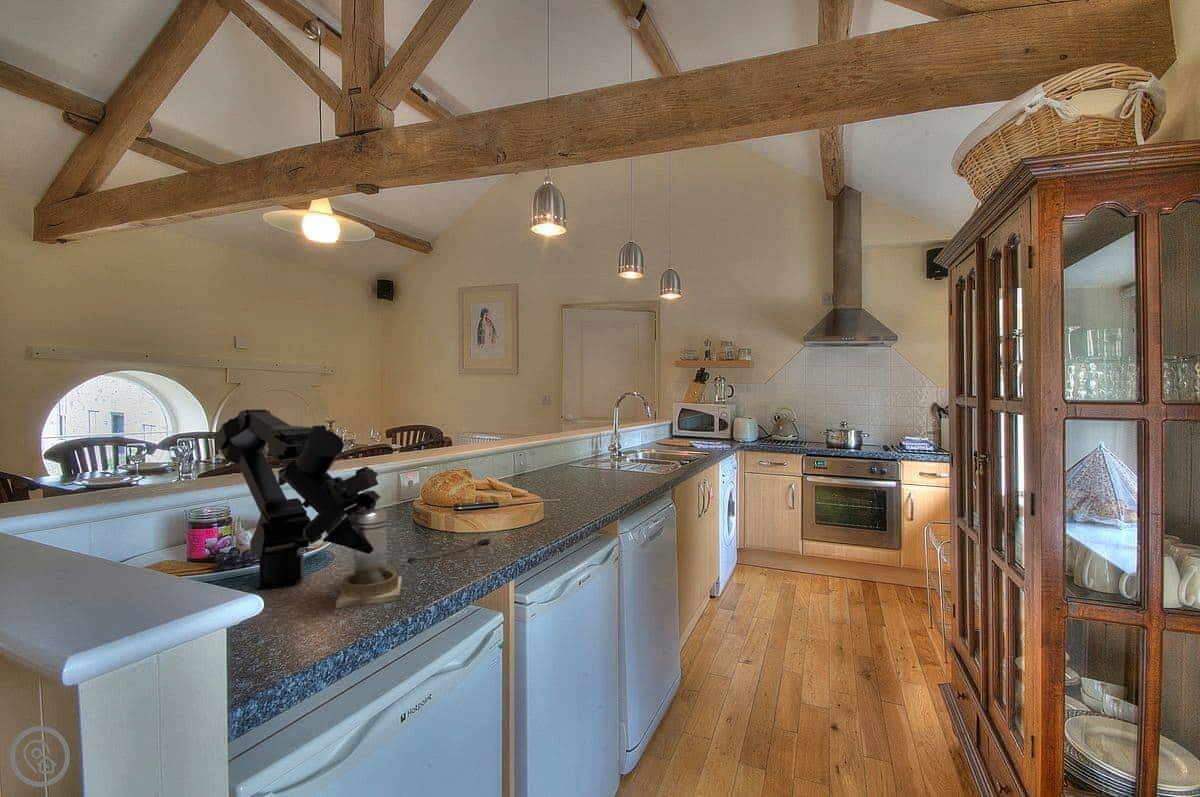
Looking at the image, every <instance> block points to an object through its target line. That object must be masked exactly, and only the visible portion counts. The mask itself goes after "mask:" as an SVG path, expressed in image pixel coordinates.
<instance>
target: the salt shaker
mask: <svg viewBox="0 0 1200 797" xmlns="http://www.w3.org/2000/svg"><path fill="white" fill-rule="evenodd" d="M387 513H388V510H386V509H385V508H375V509H366V510H360V511H357V512H355V525H356V527H357V528H358V529H359V530H360V532H361V533H362V534H363V535H364V537H365V538H366V539H367V540H368V542H369V543H370V544H371V546H372V547H373V549H374V550H373V551H372V552H371V553H370V554H367V553H364V552H361V551H358V550H355V549H353V573H354V584H358V585H366V584H375V583H379V582H382V581H386V569H387V554H388V553H387V548H388V547H387V539H388V538H387V534H388V533H387V528H388V527H387V524H388V523H387V522H388V521H387V519H388V517H387V516H388V514H387Z"/></svg>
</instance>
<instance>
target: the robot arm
mask: <svg viewBox="0 0 1200 797" xmlns="http://www.w3.org/2000/svg"><path fill="white" fill-rule="evenodd" d="M215 444H216V448H217V449H218V450H219V451H220V452H221V454H222V456H223V457H224V459H225V460H227V461H229V462H230V463H234V464H235V465H237V466H238V467H239V469H240V472H241V474H242V476H243V479H244V480H245V482H246V485H247V487H248V490H249V491H250V493H251V495H252V498H253V499H254V503H255V504H256V506H257V509H258V511H259V513H260V516H259V519H258V522H257V523H256V527H255V531H254V533H253V535H252V536H251V539H250V542H249V549H250V553H251V554H252V555H253V556H256V557H259V566H258V568H259V569H258V570H259V574H258V575H259V577H258V578H259V583H258V584H257V585H256V590H264V589H274V588H282V587H283V588H284V587H292V586H296V585H297V584H298V583H299V581H300V580H301V579H302V578H303V576H304V574H305V573H304V572H305V571H304V569H305V568H304V566H305V564H304V562H305V560H304V559H305V558H304V554H303V553H302V554H301V549H303V548H304V549H305V548H309V544H310V545H314V544H315V543H317V542H319V541H320V540H321V539H322V542H324V543H327V542H328V543H332V544H335V545H338V546H341V547H342V546H343V547H345V548H349V549H352V550H354V549H355V550H358V551H361V552H364V553H367V554H370V553H371V552H372V551H373V550H374V549H373V547H372V546H371V544H370V543H369V542H368V540H367V539H366V538H365V537H364V535H363V534H362V533H361V532H360V530H359V529H358V528H357V527H356V525H355V512H357V511H360V510H366V509H376V506H377V503H376V502H378V500H380V498H381V496H380V495H379V494H378V493H377V492H376V491H375V490H369V489H371V488H372V487H375V486H378V485H379V482H378V479H377V477H378V472H376V471H374V469H373V468H370V467H368V466H363V467H361V468H359V469H356V471H355V475H353V476H350V477H348V478H346V479H343V478H342V477H338V476H337V477H332V476H331V475H330V474H329V473H328V471H329V470H330V469H331V467H332V466H333V464H334V463H335V462H336V460H337V458H339V456H340V455H341V454H342V452H343V449H344V441H343V439H342V438H340V436H339V435H338V434H336V433H335V432H332V431H331V430H328V429H327V428H326V425H325V424H324V425H313V426H312V427H309V426H302V425H301V426H298V425H290V424H289V423H287V422H285V421H284V420H281V419H280V418H278V417H277V416H275V415H274V414H272V413H271V411H270V410H267V409H243V410H241V411H239V413H238V414H237V416H235V417H234V418H232V419H230V420H228V421H226V422H224V423H223V424H222V425H221V426H220V428H219V430H218V431H217V434H216V436H215ZM266 446H267V453H269V454H270V455H271V457H272V458H273V459H274V460H275V461H279V462H280V461H281V462H282V461H289V462H288V464H286V466H284V467H283V468H281V469H279V470H278V471H277V472H278V479H277V477H276V475H275V473H274V471H273V469H272V467H271V465H270V463H269V461H268V459H267V457H266V456H265V454H264V452H265V450H266V449H265V448H266ZM286 484H288V485H289V486H290V487H291V488H292V489H293V490H294V491H295V492H296V493H297V494H298V495H299V496H300V497H301V498H302V499H303V500H304V501H303V502H302V501H301V499H299V498H298V497H296V498H289V499H287V497H286V495H285V492H284V491H283V489H282V487H281V486H284V485H286ZM310 507H311V508H312V509H313V510H314V511H315V512H316V513H317V515H316V516H314V518H313V519H311V518H310V516H308V514H307V513H308V511H307V510H306V509H307V508H310ZM324 533H326V534H327V535H326V536H324V538H322V535H323V534H324Z"/></svg>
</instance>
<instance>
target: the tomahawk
mask: <svg viewBox="0 0 1200 797" xmlns="http://www.w3.org/2000/svg"><path fill="white" fill-rule="evenodd" d="M490 542H491V539H490V538H484V539H480V540H478V542H476V543H475V544H470V545H469V544H468V545H463V546H461V547H457V548H454V549H450V550H446V551H442V552H438V553H434V554H431V555H428V556H423V557H422V558H421V559H420V560H423V559H430V558H434V557H438V556H442V557H444V556H443V555H446V556H448V555H447V554H450V555H453V554H456V552H457V553H460V552H463V551H464V552H465V551H468V550H471V549H476V548H479V547H482V546H483V545H484V544H489V543H490ZM452 553H453V554H452ZM438 558H439V557H438ZM434 559H435V558H434ZM414 560H418V559H417V558H415V557H409V558H407V563H410V562H413V561H414ZM414 562H415V561H414Z"/></svg>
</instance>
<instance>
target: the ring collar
mask: <svg viewBox="0 0 1200 797" xmlns="http://www.w3.org/2000/svg"><path fill="white" fill-rule="evenodd" d="M402 581H403V580H402V575H401V576H400V575H399V573H398V572H397V571H396V570H394V569H389V568H386V581H382V582H379V583H375V584H366V585H358V584H354V572H353V573H351V574H349V575H348V576H345V577H344V578H343V580H342V582H341V583H342V585H341V586H342V587H341V589H340V592H339V594H338V596H337V598H336V601H335V608H336V609H339V608H348V607H355V606H356V607H357V606H362V605H363V606H365V605H372V604H381V603H387V602H388V603H390V601H391V602H397V601H398V600H399V601H400V599H401V590H402V589H401V588H402Z"/></svg>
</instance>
